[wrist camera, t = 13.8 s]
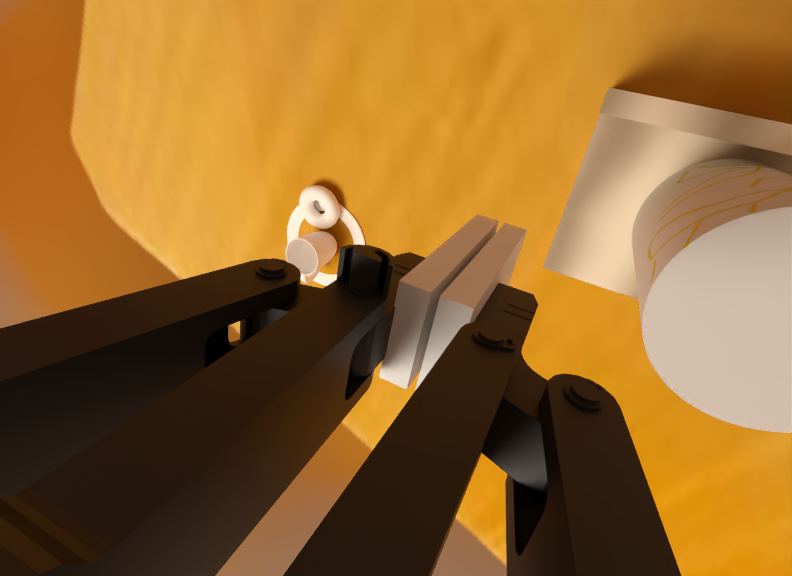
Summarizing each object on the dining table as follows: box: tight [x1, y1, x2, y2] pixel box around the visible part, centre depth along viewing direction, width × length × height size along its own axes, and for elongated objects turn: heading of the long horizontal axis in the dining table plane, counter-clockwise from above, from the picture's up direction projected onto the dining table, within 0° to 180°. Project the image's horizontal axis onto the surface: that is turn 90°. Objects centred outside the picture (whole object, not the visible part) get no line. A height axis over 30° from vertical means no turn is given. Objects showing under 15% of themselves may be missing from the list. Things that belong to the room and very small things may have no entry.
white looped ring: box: [286, 185, 365, 286], centre depth 37 cm, size 9×8×4 cm
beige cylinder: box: [632, 159, 792, 433], centre depth 20 cm, size 8×8×12 cm
